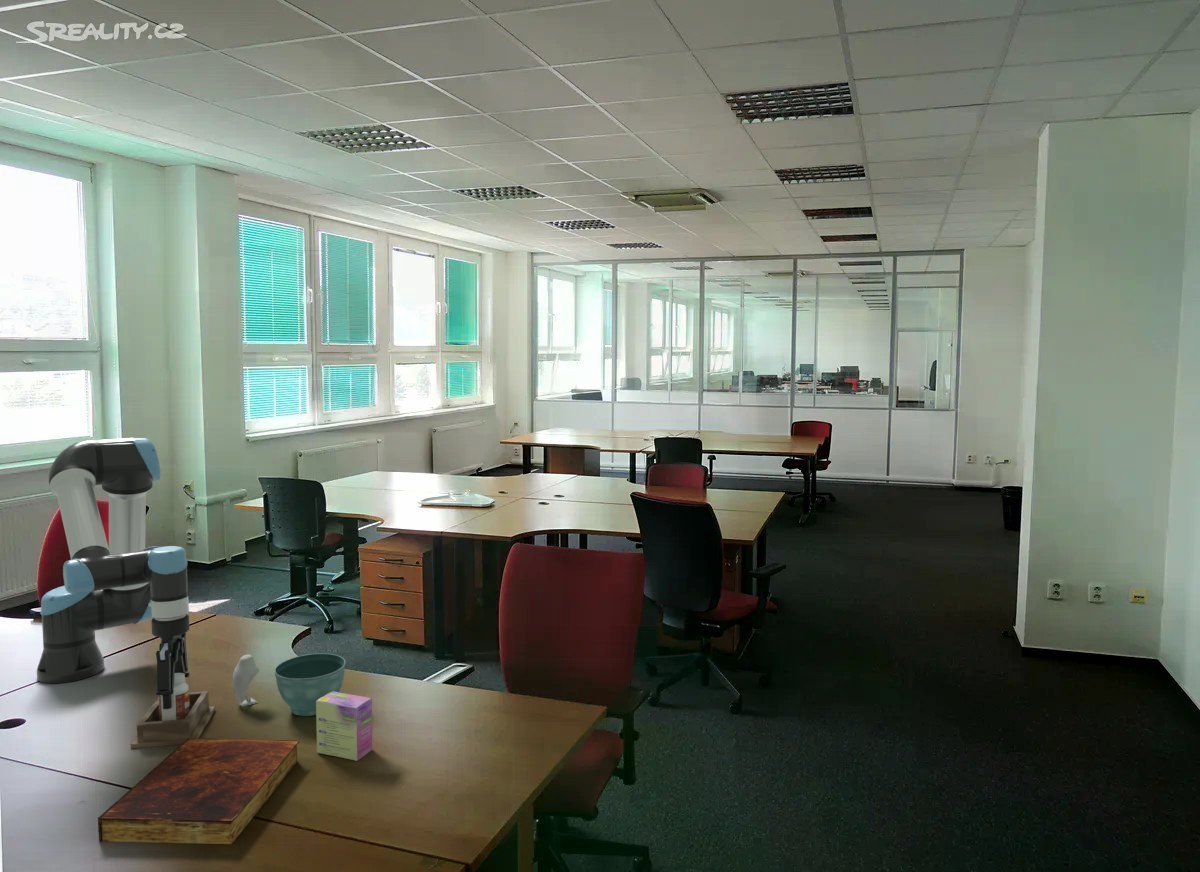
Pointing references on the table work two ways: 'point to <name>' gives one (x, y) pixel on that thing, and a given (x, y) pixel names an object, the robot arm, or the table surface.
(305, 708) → the teal bowl
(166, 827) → the book
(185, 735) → the wooden tray
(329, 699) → the box
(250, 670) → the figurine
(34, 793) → the table surface
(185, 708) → the pill bottle
